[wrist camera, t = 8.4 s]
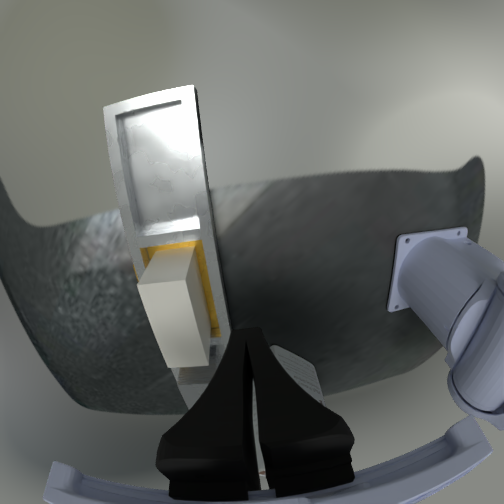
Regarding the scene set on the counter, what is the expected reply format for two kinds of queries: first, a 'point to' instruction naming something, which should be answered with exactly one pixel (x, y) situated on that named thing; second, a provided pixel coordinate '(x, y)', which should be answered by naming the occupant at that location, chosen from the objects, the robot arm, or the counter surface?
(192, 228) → the tray
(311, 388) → the skincare box
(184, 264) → the tall white prism
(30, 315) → the counter surface
